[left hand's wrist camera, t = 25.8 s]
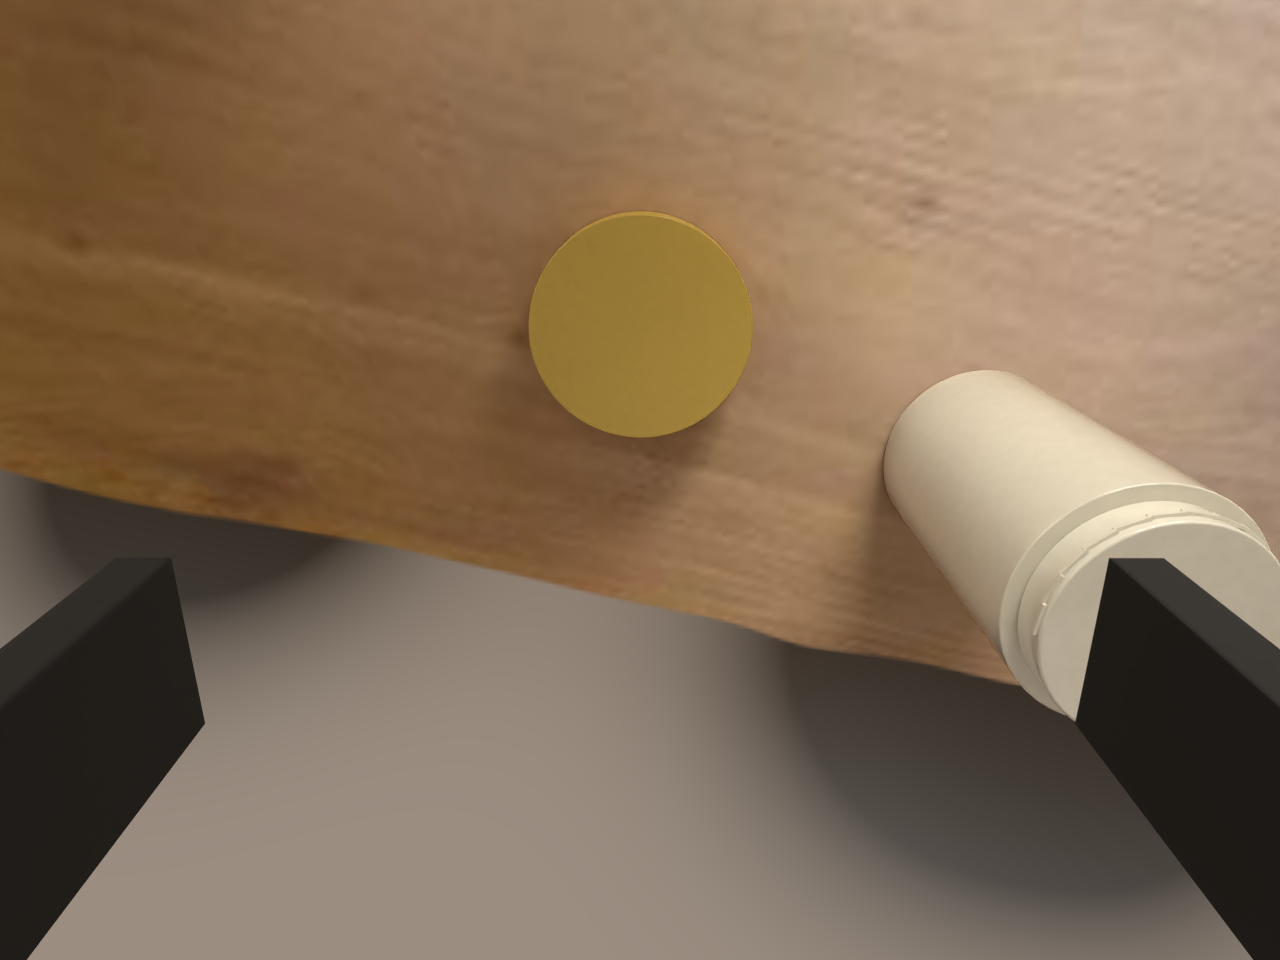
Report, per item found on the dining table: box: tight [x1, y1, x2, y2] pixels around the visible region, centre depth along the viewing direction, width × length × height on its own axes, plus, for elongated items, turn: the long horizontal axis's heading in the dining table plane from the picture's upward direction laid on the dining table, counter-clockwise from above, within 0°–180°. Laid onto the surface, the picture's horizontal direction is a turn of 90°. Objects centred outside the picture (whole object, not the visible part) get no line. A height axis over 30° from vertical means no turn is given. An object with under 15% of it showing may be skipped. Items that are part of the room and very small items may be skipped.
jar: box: [883, 370, 1280, 721], centre depth 32 cm, size 8×8×15 cm
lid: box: [528, 211, 753, 438], centre depth 36 cm, size 9×9×2 cm
